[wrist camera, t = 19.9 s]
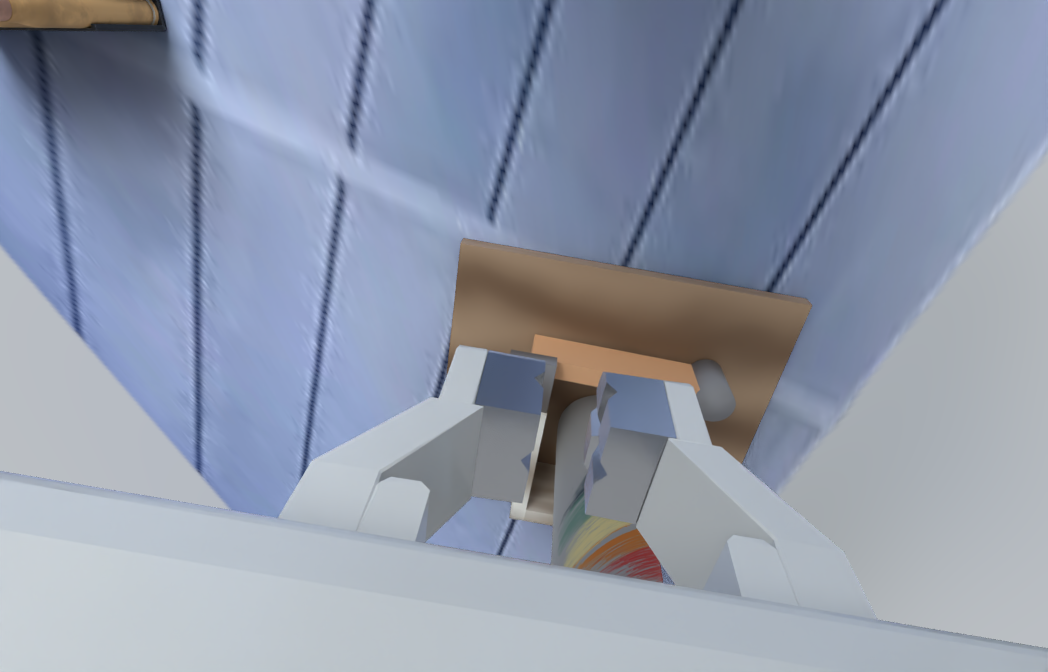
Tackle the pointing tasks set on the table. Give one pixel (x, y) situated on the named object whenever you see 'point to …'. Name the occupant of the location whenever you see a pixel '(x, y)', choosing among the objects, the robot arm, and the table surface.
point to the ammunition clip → (81, 15)
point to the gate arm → (639, 371)
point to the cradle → (620, 335)
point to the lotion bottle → (586, 535)
